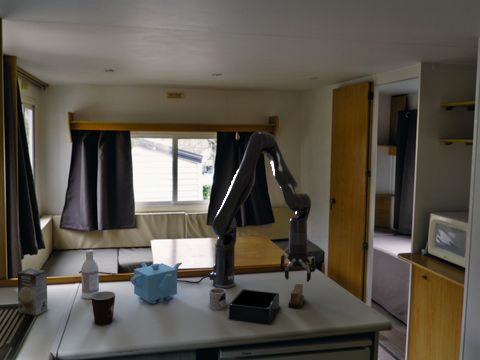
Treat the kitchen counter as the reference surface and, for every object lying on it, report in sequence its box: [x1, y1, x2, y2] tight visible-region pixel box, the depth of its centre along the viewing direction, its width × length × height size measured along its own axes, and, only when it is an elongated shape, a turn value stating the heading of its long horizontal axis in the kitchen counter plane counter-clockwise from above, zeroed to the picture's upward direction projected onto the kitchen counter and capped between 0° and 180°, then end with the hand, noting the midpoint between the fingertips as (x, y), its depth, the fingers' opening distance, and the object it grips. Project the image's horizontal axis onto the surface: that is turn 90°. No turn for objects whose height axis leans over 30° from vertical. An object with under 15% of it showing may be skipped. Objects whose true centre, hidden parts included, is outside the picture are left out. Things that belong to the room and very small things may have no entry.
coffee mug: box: [90, 290, 116, 326], centre depth 161 cm, size 12×9×10 cm
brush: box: [288, 283, 305, 309], centre depth 180 cm, size 5×12×6 cm, turn 163°
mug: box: [208, 287, 227, 311], centre depth 177 cm, size 10×7×7 cm
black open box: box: [228, 288, 280, 325], centre depth 169 cm, size 16×18×6 cm
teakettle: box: [130, 261, 183, 305], centre depth 184 cm, size 19×19×15 cm
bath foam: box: [80, 249, 100, 300], centre depth 185 cm, size 7×7×20 cm
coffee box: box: [16, 267, 49, 316], centre depth 168 cm, size 9×6×16 cm
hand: (297, 280), depth 179 cm, fingers open, 8 cm apart
